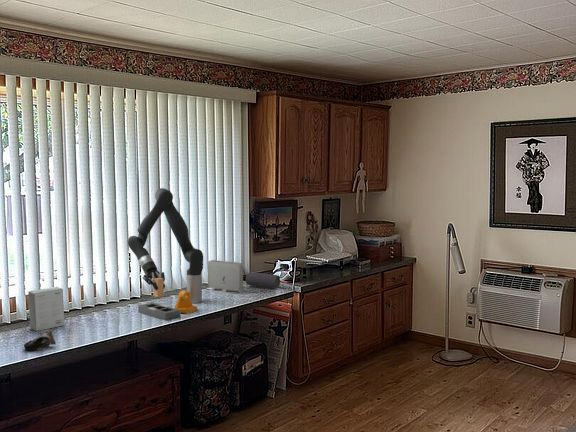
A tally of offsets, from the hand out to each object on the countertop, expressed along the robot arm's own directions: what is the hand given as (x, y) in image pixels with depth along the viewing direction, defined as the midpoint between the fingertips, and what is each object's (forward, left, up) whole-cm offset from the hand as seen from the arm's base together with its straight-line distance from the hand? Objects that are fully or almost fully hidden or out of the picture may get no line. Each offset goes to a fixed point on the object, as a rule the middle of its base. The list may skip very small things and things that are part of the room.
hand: (160, 288), depth 337 cm
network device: (-63, +28, -16) cm, 71 cm away
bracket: (-9, +13, -16) cm, 22 cm away
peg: (-1, -2, -5) cm, 5 cm away
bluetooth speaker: (-76, +52, -16) cm, 93 cm away
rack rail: (-1, -1, -15) cm, 15 cm away
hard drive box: (+27, -53, -16) cm, 62 cm away
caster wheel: (+62, -42, -16) cm, 77 cm away
